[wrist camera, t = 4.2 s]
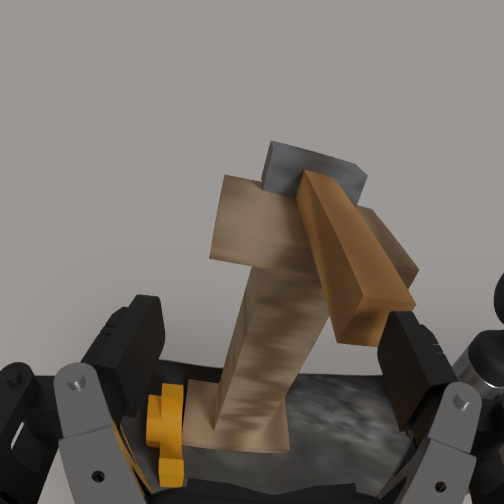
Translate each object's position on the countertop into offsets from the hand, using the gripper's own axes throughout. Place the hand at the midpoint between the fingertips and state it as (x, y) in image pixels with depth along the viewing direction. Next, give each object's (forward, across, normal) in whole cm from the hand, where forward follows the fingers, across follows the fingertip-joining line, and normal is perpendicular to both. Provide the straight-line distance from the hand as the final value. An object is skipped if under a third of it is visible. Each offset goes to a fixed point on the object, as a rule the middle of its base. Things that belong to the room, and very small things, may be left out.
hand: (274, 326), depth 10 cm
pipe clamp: (+10, +12, +30) cm, 34 cm away
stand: (+16, +3, +31) cm, 35 cm away
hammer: (+10, -3, +1) cm, 11 cm away
